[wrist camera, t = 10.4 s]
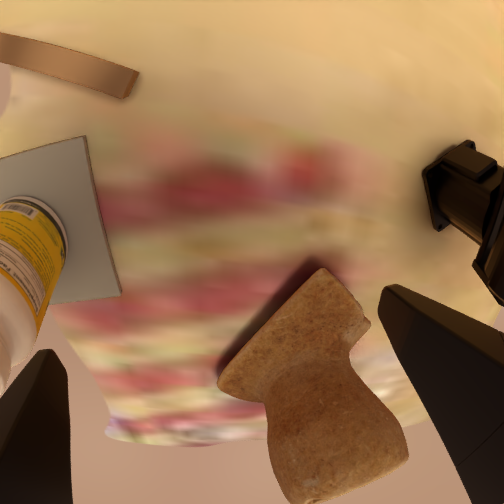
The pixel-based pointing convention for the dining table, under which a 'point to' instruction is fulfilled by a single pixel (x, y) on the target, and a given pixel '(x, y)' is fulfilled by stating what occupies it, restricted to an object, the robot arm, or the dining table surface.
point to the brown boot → (316, 395)
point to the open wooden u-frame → (67, 65)
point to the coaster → (67, 214)
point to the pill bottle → (26, 275)
